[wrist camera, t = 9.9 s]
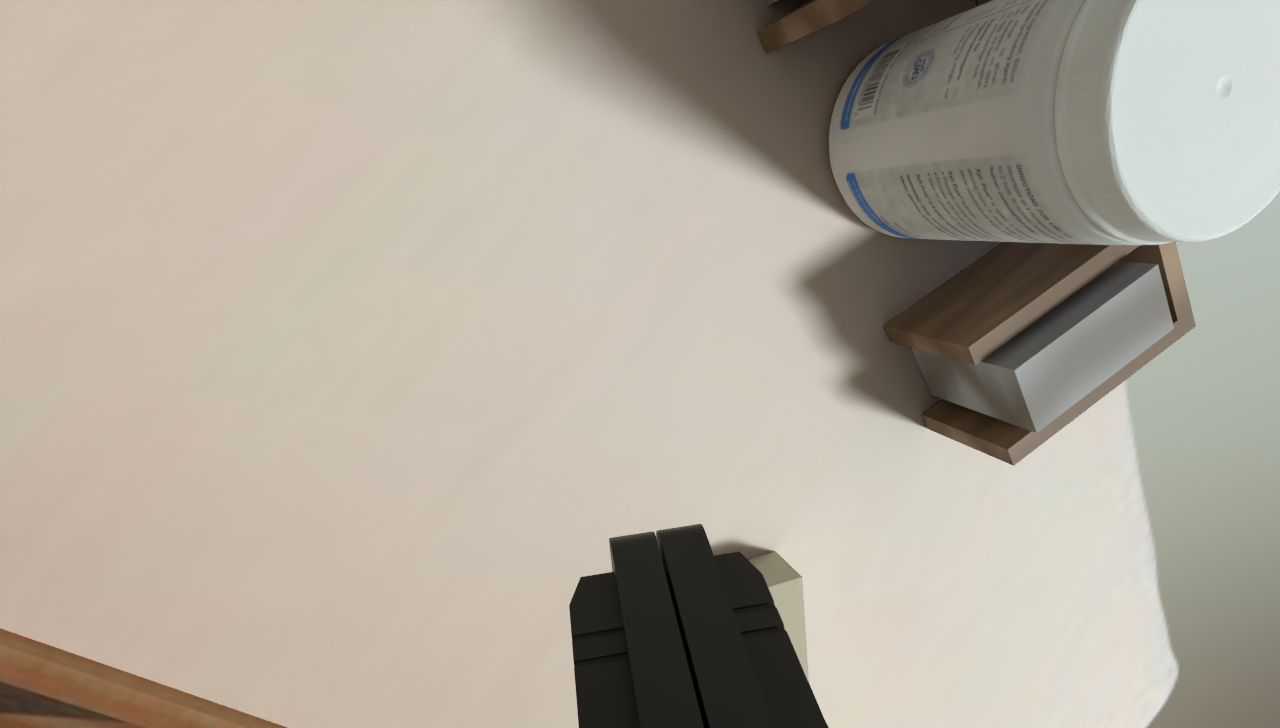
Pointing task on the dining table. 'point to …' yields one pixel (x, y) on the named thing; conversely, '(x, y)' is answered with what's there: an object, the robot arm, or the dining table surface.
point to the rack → (1027, 318)
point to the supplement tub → (1066, 123)
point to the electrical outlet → (786, 599)
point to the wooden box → (95, 694)
